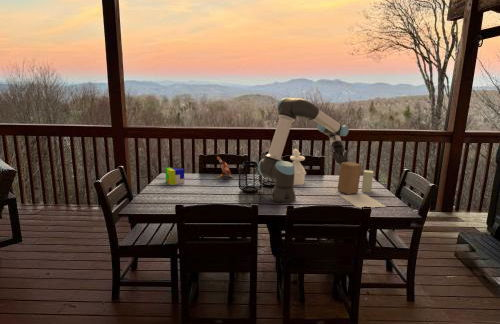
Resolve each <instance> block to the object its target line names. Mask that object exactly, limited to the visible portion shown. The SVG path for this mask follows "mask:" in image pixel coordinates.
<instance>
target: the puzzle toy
mask: <svg viewBox="0 0 500 324" xmlns="http://www.w3.org/2000/svg"><path fill="white" fill-rule="evenodd" d="M165 182H166V183H168V184H169V185H170V186H173V185H174V186H175V185H180V184H185V169H184V168H183V167H180V166H172V167H165Z"/></svg>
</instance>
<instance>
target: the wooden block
mask: <svg viewBox="0 0 500 324" xmlns="http://www.w3.org/2000/svg"><path fill="white" fill-rule="evenodd" d="M361 171H362V164H360V163H357V162H355V161H354V162H353V161H348V162H342V163H341V166H340V169H339V175H338V182H337V191H339V192H340V193H342V194H346V195H355V194H357V193H358V192H359V186H360V185H359V184H360V180H361V179H360V178H361V173H362V172H361Z"/></svg>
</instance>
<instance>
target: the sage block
mask: <svg viewBox="0 0 500 324" xmlns="http://www.w3.org/2000/svg"><path fill="white" fill-rule="evenodd" d="M373 177H374V170H368V169H364V170H363V175H362V185H361V192H363V193H369V194H370V193H372V188H373Z"/></svg>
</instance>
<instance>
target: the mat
mask: <svg viewBox="0 0 500 324" xmlns="http://www.w3.org/2000/svg"><path fill="white" fill-rule="evenodd" d="M339 197H341V198H342V199H343V200H345V201H347V202H348V203H350V204H351V205H352V206H354V207H355V208H357V207H360V208H361V207H364V206H367V207H371V208H370V209H376V208H375V207H381V208H387V206H386V205H385V204H382V202H379V201H378V200H376V199H374V198H372V197H370V196H369V195H367V194H349V195H348V194H346V195H344V194H342V195H341V194H340V195H339Z"/></svg>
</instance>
